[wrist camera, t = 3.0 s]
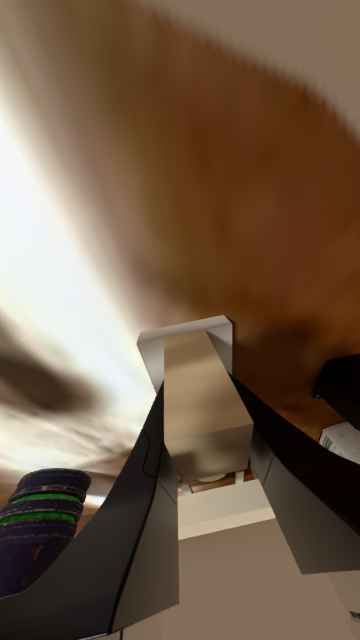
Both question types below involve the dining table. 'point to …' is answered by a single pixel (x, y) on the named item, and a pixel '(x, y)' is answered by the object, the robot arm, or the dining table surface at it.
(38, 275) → the dining table surface
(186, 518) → the cream bridge block
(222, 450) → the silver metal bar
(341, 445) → the syrup box
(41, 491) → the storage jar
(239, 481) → the frame
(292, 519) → the robot arm
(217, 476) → the disc
